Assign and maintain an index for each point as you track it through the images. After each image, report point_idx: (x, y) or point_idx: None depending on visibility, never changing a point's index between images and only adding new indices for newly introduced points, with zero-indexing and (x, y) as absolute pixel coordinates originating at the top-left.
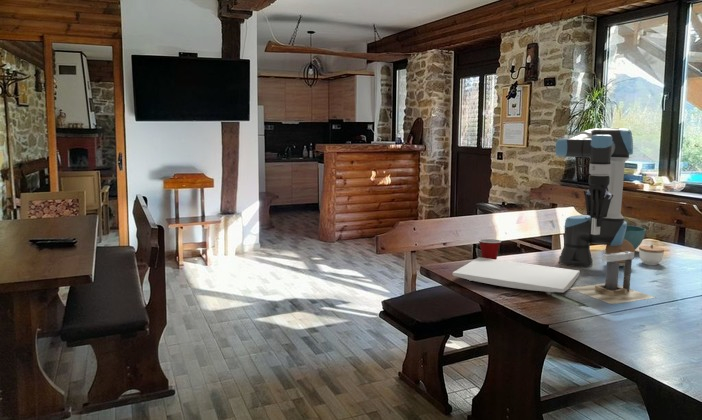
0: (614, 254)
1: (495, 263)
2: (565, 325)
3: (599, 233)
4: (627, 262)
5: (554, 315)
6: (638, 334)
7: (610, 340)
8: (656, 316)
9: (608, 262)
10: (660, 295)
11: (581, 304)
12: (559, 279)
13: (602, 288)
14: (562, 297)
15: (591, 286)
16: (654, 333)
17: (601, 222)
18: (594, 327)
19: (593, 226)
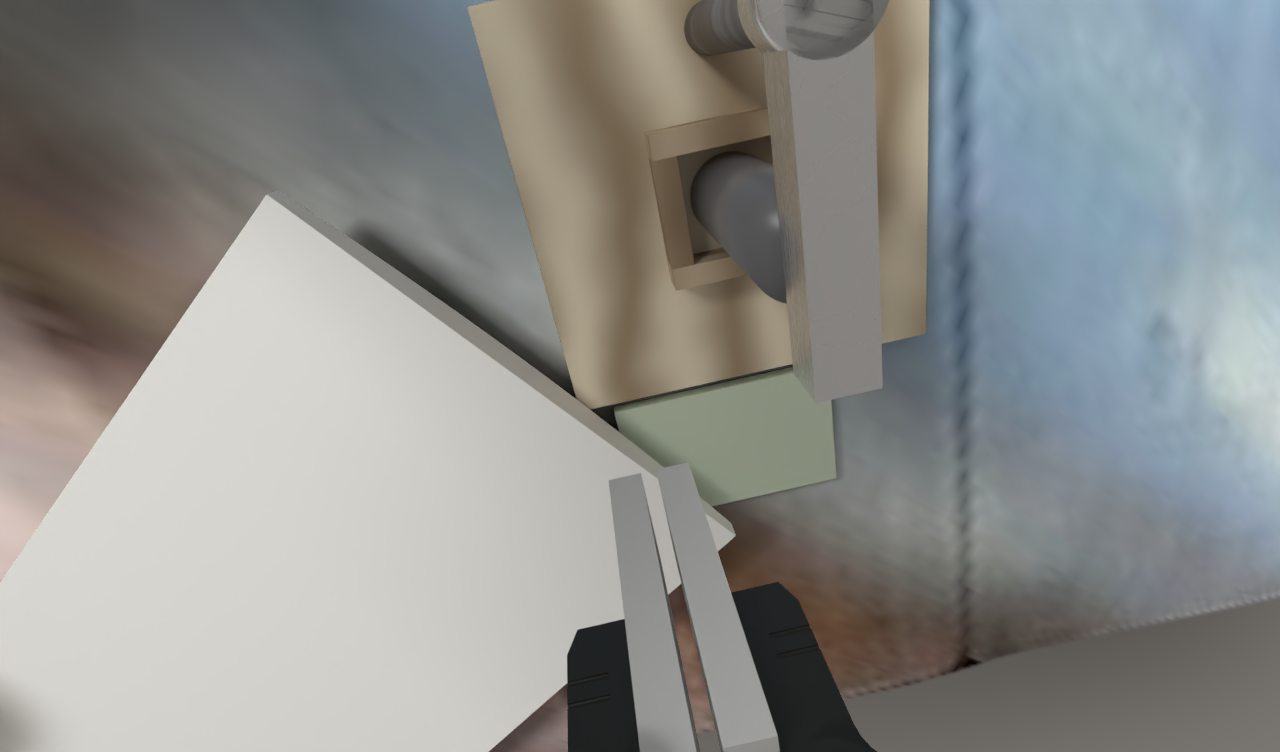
0: (856, 270)
1: (92, 682)
2: (1000, 611)
3: (693, 479)
4: None
5: (893, 605)
6: (1213, 411)
7: (1186, 538)
8: (1118, 158)
9: (782, 285)
10: None
11: (834, 458)
12: (533, 471)
13: (740, 275)
14: (711, 498)
15: (566, 242)
16: (1247, 339)
17: (822, 659)
18: (1068, 529)
19: (681, 660)
